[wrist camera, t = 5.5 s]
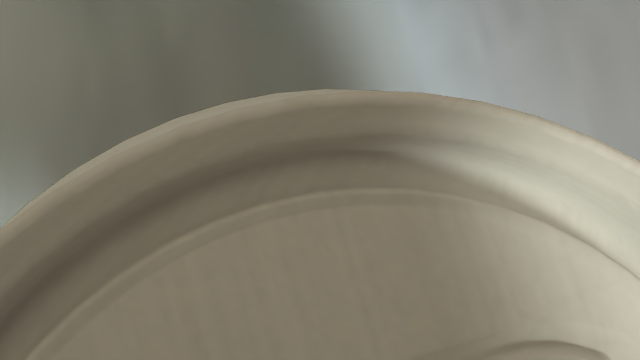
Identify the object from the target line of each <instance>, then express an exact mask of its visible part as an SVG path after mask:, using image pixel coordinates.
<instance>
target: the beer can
mask: <svg viewBox="0 0 640 360" xmlns="http://www.w3.org/2000/svg"><path fill="white" fill-rule="evenodd" d="M0 360H640V161H638V160H636V159H634V158H632V157H630V156H628V155H626V154H624V153H622V152H620V151H618V150H616V149H614V148H612V147H611V146H609V145H607V144H605V143H603V142H601V141H599V140H597V139H595V138H593V137H590V136H588V135H585V134H583V133H580V132H577V131H575V130H572V129H570V128H567V127H564V126H562V125H559V124H557V123H554V122H551V121H549V120H546V119H544V118H541V117H538V116H535V115H531V114H527V113H523V112H520V111H516V110H512V109H508V108H504V107H501V106H497V105H493V104H489V103H485V102H481V101H475V100H468V99H461V98H454V97H448V96H441V95H434V94H427V93H414V92H383V91H374V90H343V89H320V90H308V91H296V92H283V93H274V94H269V95H263V96H258V97H253V98H248V99H243V100H238V101H233V102H228V103H223V104H220V105H217V106H214V107H211V108H207V109H204V110H201V111H198V112H195V113H191V114H188V115H185V116H182V117H179V118H175V119H173V120H170V121H168V122H166V123H164V124H161V125H159V126H157V127H154V128H152V129H150V130H148V131H145V132H143V133H141V134H139V135H136V136H134V137H132V138H129V139H127V140H125V141H123V142H121V143H119V144H118V145H116V146H114V147H112V148H111V149H109V150H107V151H105V152H104V153H102V154H100V155H99V156H97V157H95V158H93V159H92V160H90V161H88V162H86V163H85V164H83V165H81V166H79V167H78V168H76V169H74V170H73V171H71V172H70V173H69V174H67V175H66V176H65V177H63V178H62V179H61V180H59V181H58V182H56V183H55V184H54V185H52V186H51V187H50V188H48V189H47V190H46V191H44V192H43V193H41V194H40V195H39V196H37V197H36V198H35V199H33V200H32V201H31V202H29V203H28V204H26V205H25V206H24V207H23V208H22V209H21V210H20V211H19V212H18V213H17V214H15V215H14V216H13V217H12V218H11V219H10V220H9V221H8V222H7V223H6V224H5V225H3V226H2V227H1V228H0Z"/></svg>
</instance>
